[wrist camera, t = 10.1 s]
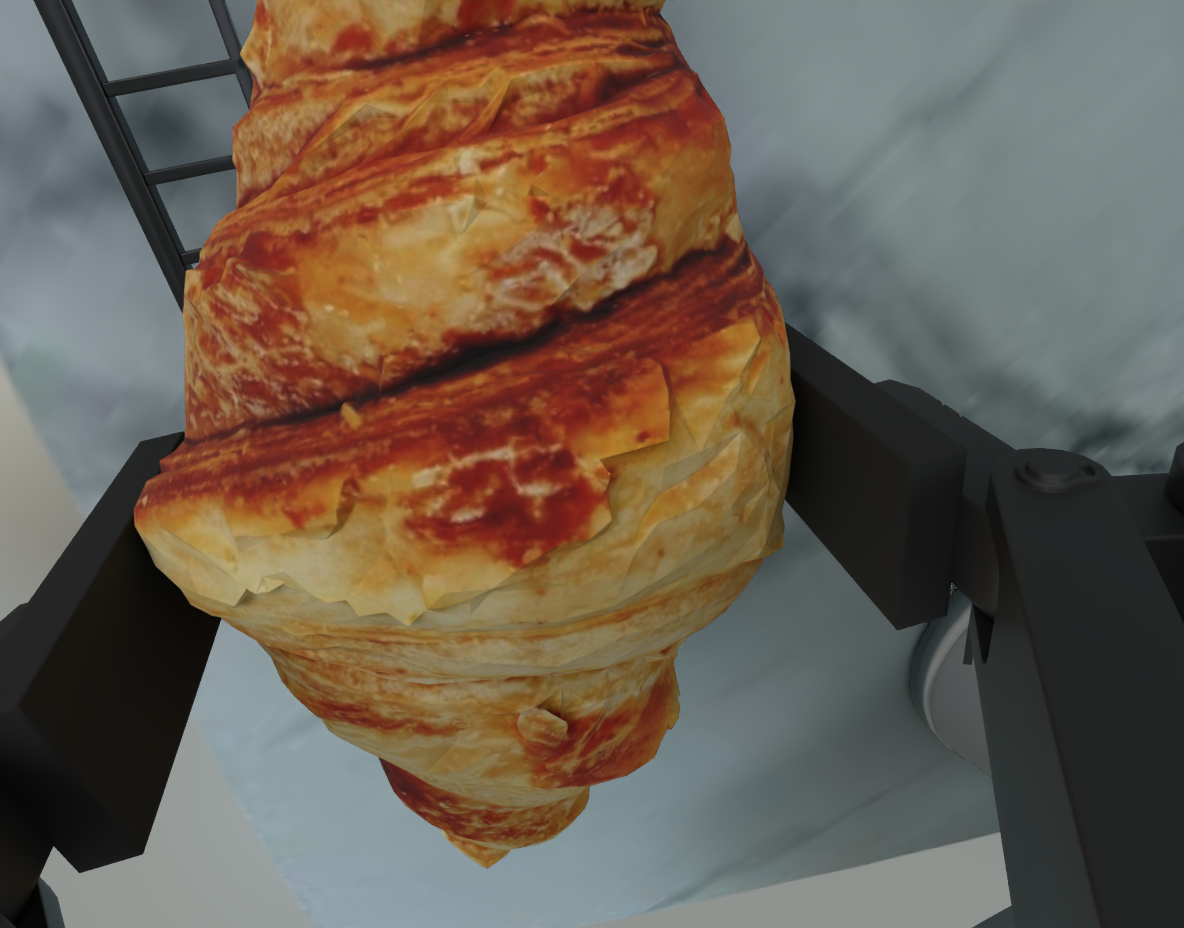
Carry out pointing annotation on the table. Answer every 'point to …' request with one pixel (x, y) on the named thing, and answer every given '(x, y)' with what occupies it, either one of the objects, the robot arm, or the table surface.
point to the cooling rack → (118, 136)
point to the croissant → (477, 394)
